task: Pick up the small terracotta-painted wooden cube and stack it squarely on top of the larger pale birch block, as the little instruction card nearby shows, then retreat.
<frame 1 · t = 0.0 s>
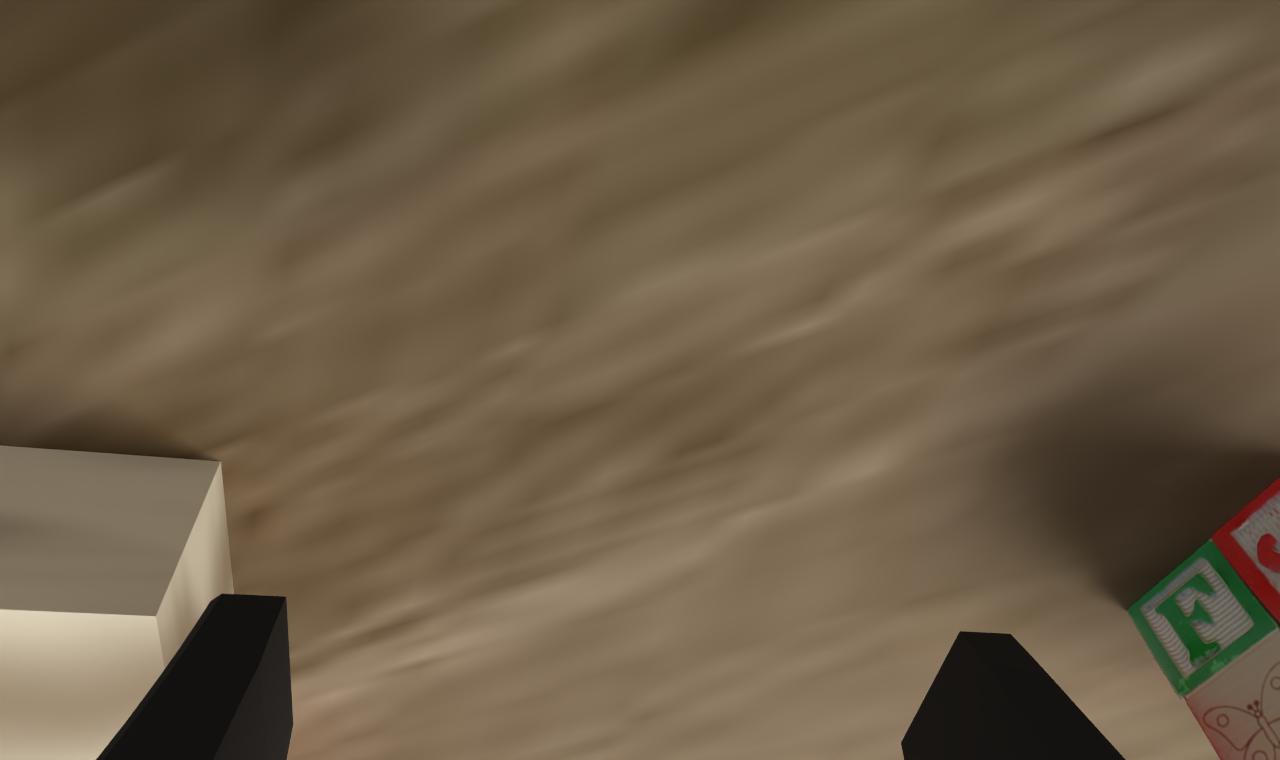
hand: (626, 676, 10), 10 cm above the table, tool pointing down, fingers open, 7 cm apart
birch base block: (105, 540, 22), on the table
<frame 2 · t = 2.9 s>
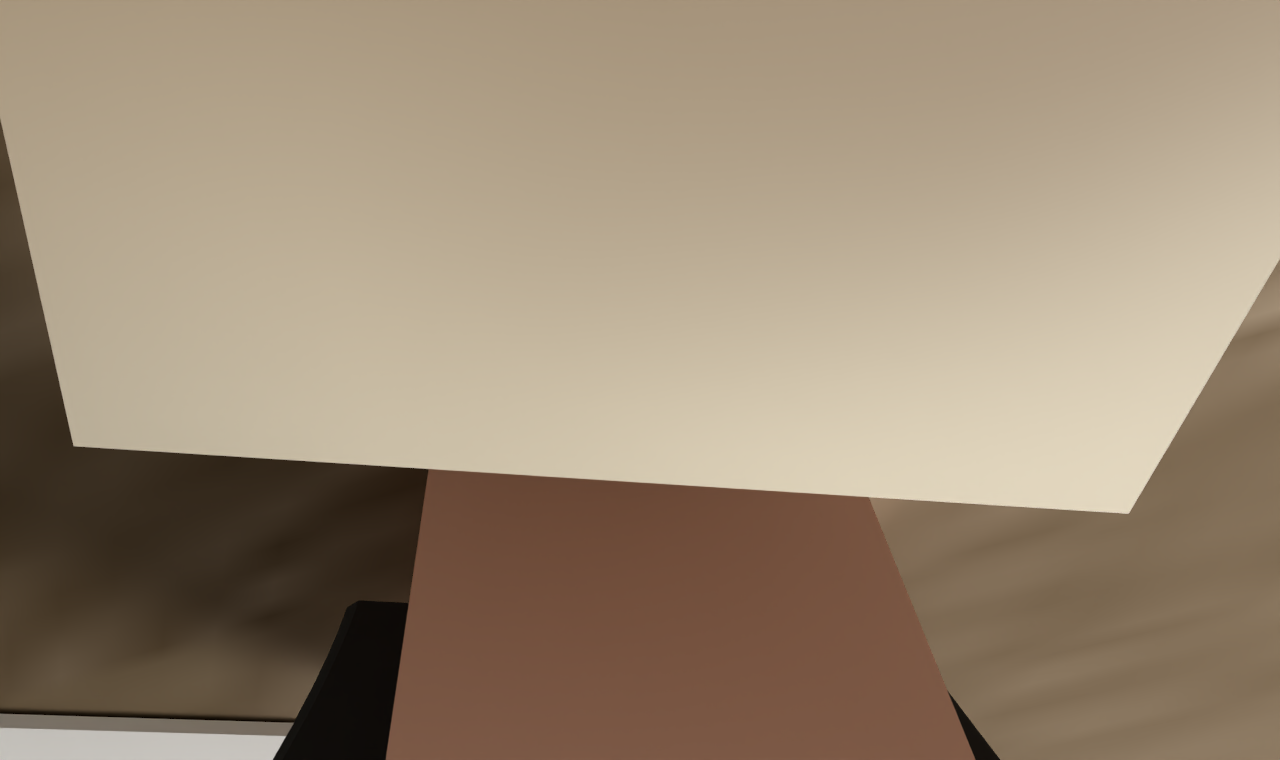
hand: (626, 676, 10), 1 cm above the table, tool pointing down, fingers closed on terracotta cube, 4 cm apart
terracotta cube: (617, 578, 12), on the table, touching gripper
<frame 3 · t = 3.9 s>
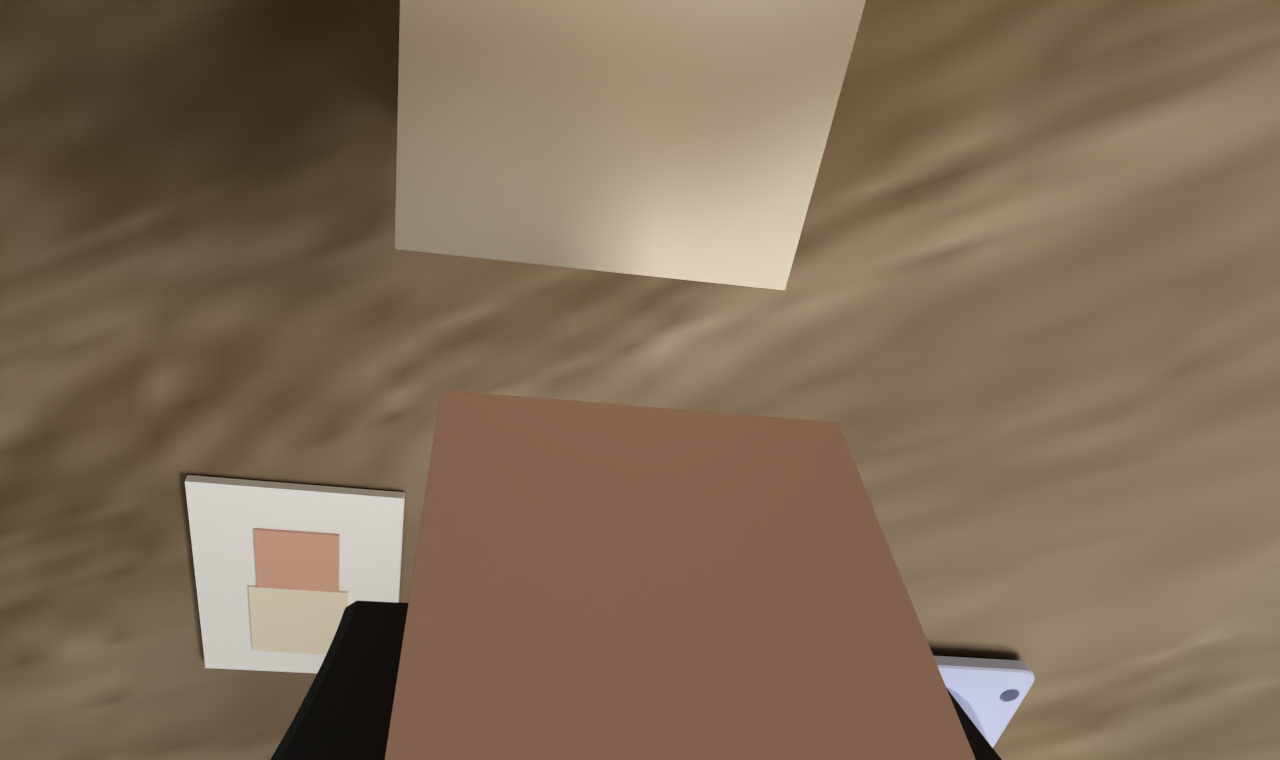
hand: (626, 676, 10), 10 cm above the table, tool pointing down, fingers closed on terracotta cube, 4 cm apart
terracotta cube: (616, 551, 12), point 8 cm above the table, touching gripper
instruction card: (300, 581, 22), on the table
when the fingers open (7 cm above the table, at t = 5.4 s): terracotta cube stays where it is, resting on birch base block.
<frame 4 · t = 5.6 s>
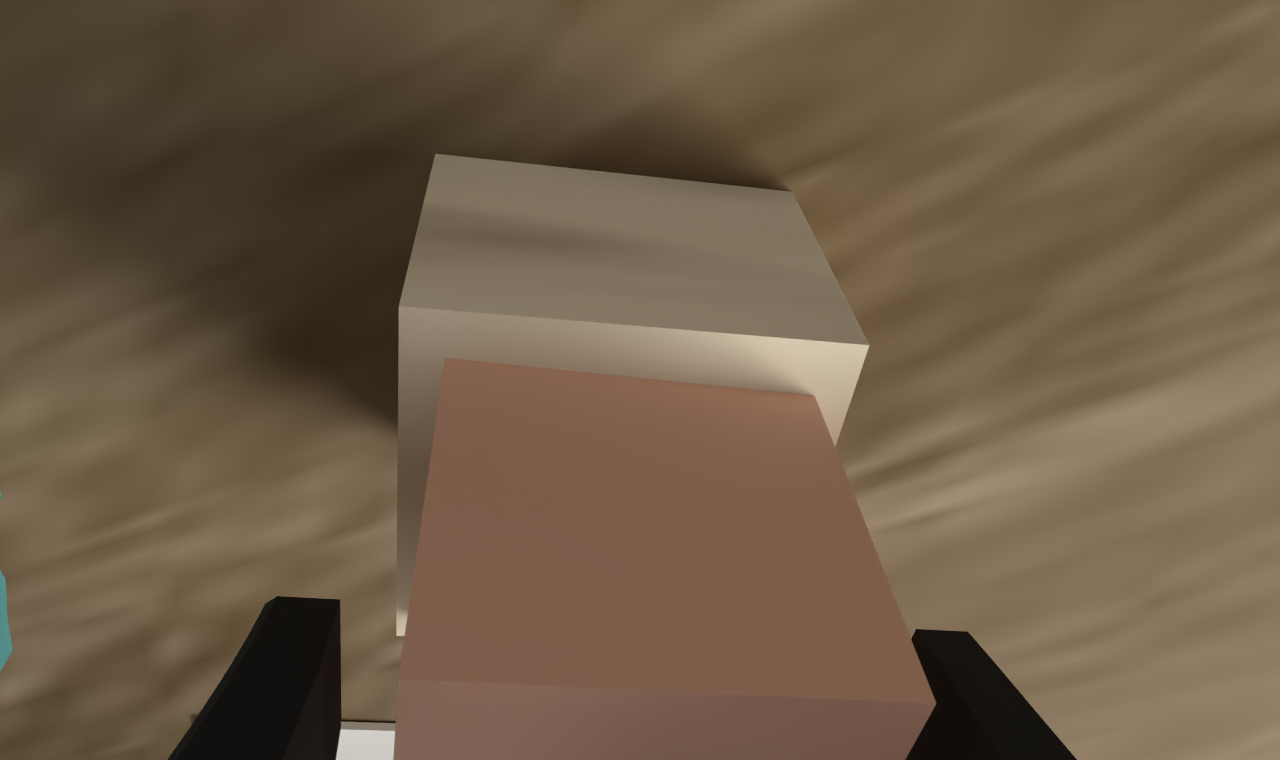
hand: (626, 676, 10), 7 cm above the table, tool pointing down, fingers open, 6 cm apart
terracotta cube: (606, 515, 13), point 4 cm above the table, touching birch base block
birch base block: (596, 322, 16), on the table, touching terracotta cube
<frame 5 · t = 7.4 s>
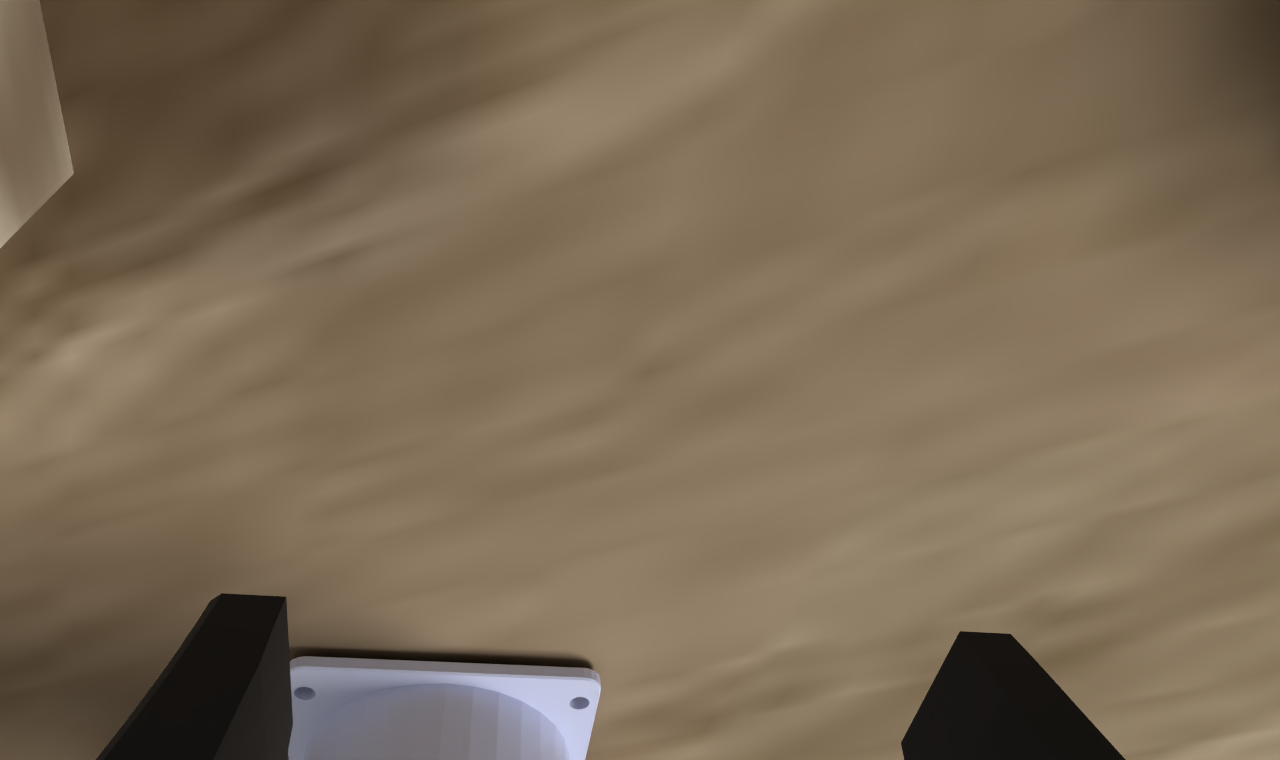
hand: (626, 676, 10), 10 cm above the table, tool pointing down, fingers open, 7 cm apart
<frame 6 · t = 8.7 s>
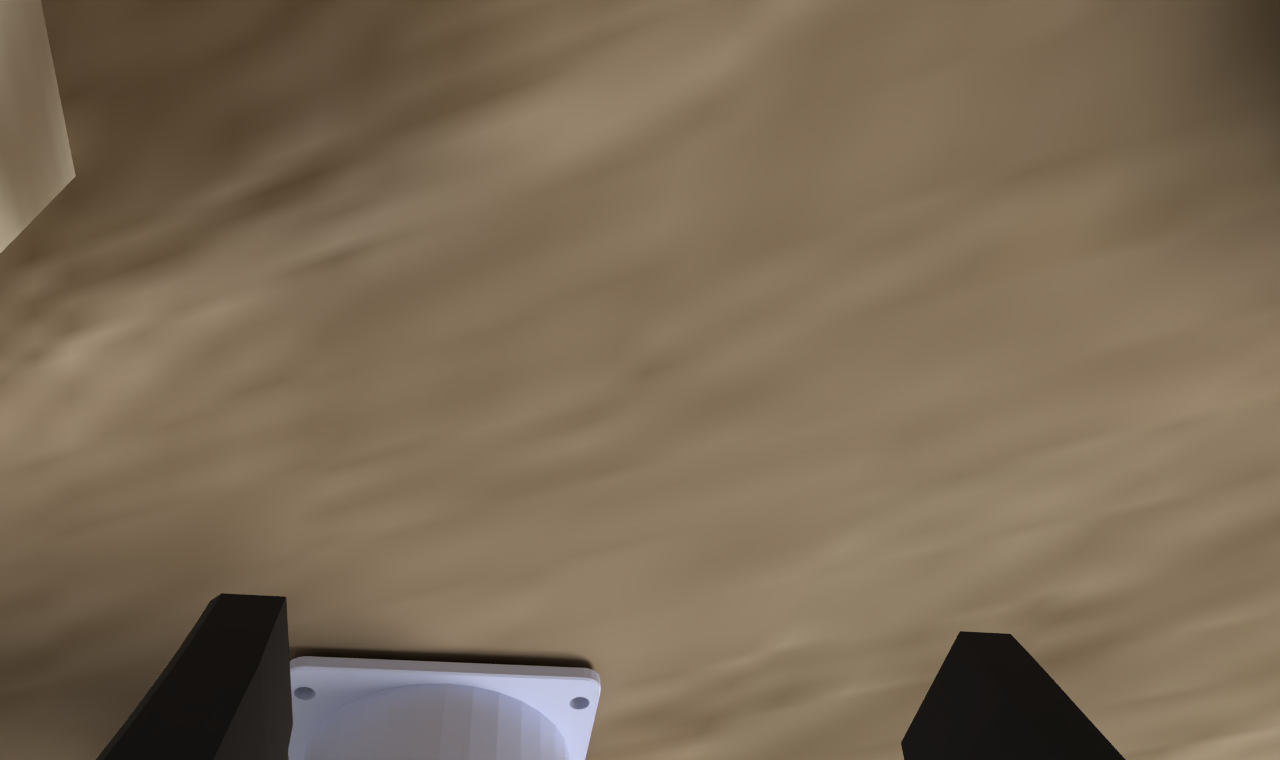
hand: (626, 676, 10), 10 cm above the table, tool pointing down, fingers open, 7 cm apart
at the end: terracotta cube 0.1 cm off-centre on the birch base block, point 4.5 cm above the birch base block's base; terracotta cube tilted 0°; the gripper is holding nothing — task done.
